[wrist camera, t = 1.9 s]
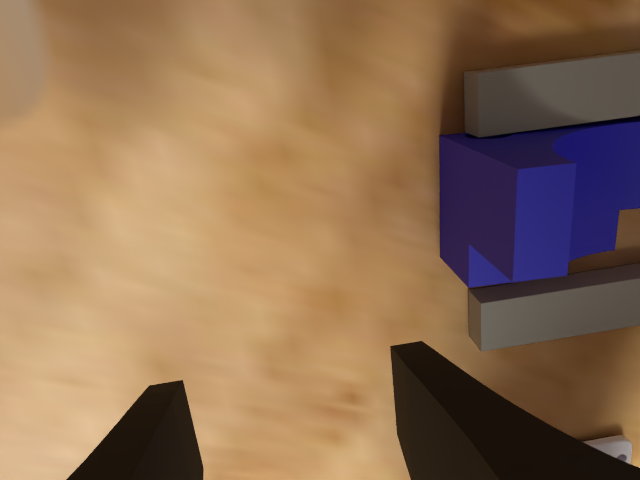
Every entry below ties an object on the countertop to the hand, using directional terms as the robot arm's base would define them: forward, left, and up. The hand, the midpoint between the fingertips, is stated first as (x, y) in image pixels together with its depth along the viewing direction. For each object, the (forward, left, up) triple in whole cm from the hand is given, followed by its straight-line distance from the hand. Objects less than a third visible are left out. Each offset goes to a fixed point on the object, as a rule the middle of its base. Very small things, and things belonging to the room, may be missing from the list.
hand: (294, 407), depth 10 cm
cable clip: (+1, -12, -10) cm, 16 cm away
